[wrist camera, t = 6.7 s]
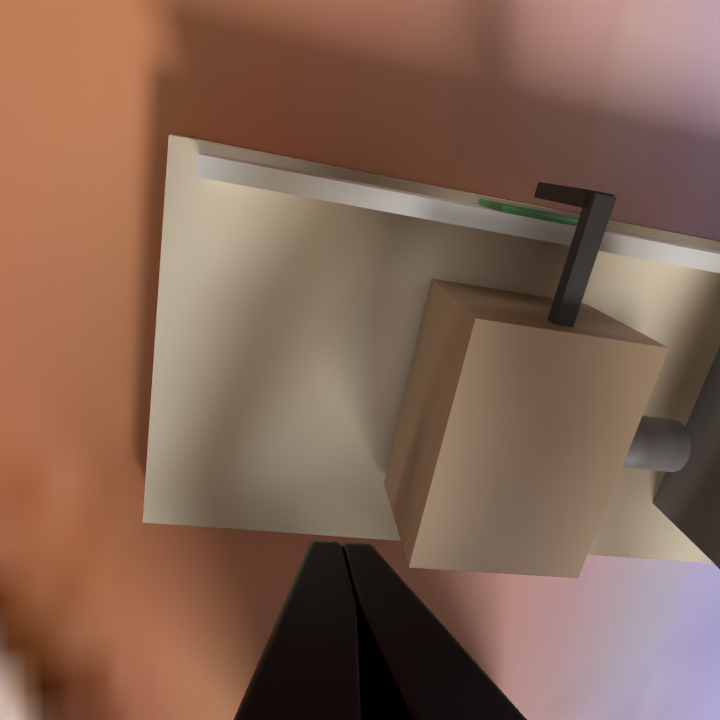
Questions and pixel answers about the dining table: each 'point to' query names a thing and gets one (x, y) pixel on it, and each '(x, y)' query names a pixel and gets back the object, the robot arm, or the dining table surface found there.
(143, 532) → the dining table surface
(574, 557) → the gauge carriage
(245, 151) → the base
